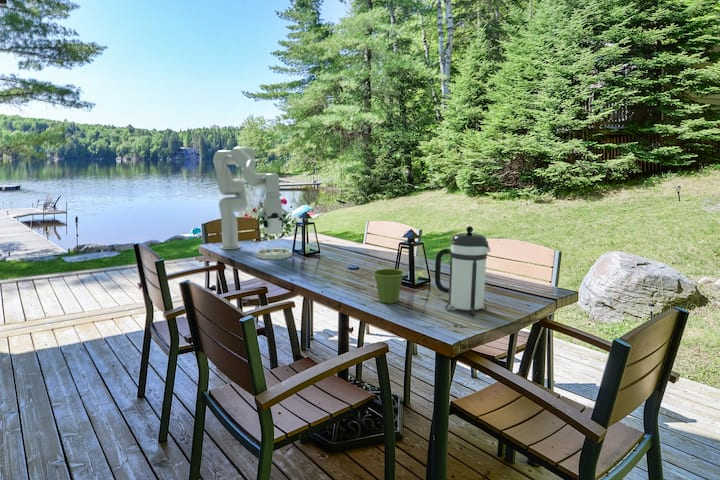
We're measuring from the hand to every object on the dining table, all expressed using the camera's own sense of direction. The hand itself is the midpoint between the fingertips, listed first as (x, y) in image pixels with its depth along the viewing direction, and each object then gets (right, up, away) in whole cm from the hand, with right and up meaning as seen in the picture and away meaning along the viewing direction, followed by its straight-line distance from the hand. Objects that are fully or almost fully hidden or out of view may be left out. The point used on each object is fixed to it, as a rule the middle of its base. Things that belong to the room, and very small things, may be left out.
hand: (273, 226), depth 245 cm
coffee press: (+86, -33, -90) cm, 129 cm away
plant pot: (+60, -31, -81) cm, 105 cm away
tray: (0, -17, +3) cm, 17 cm away
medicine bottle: (0, -4, +1) cm, 4 cm away
